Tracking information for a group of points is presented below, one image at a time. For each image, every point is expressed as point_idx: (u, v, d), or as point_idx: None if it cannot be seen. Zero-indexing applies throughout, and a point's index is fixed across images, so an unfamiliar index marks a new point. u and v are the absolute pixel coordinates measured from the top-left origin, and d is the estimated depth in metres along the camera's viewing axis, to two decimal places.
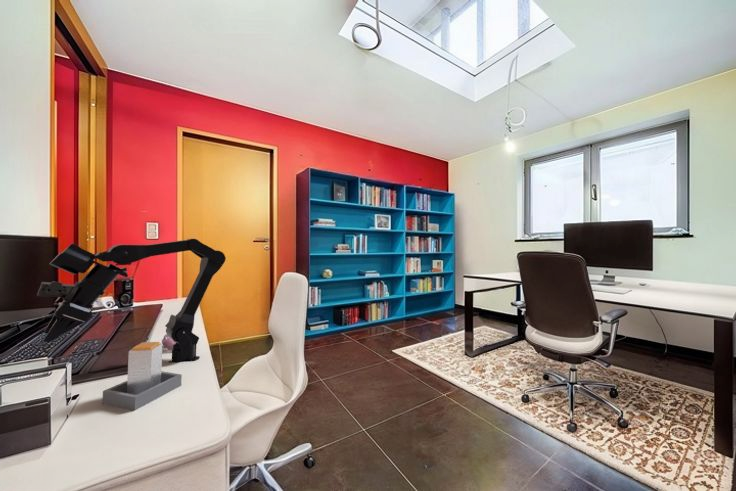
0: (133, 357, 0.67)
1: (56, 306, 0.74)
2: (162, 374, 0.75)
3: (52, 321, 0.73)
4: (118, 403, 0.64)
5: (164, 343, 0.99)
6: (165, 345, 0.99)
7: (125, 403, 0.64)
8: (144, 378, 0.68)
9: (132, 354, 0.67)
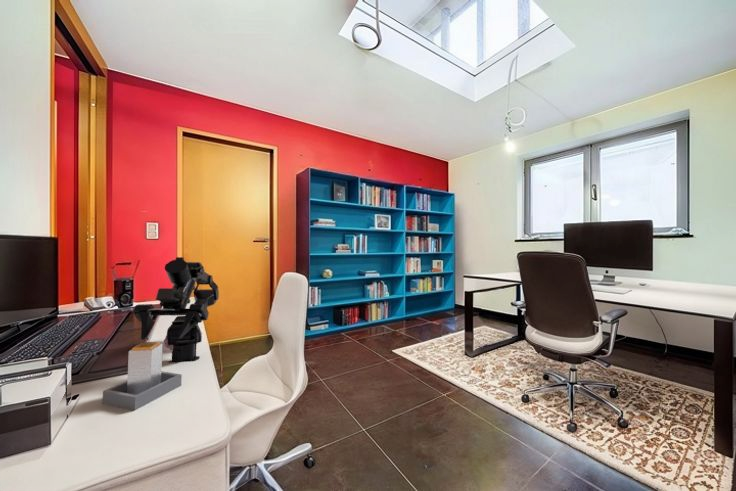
0: (133, 357, 0.67)
1: (147, 314, 0.79)
2: (162, 374, 0.75)
3: (146, 328, 0.78)
4: (118, 403, 0.64)
5: (166, 343, 0.99)
6: (167, 345, 0.99)
7: (125, 403, 0.64)
8: (144, 378, 0.68)
9: (132, 354, 0.67)
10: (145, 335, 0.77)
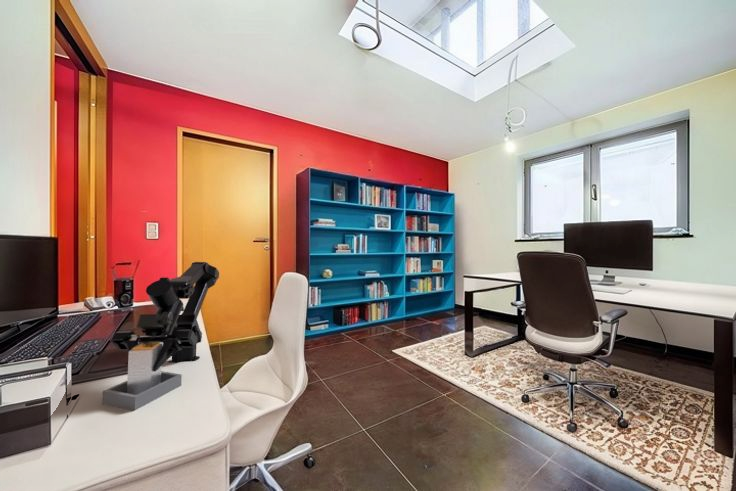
0: (133, 357, 0.67)
1: (136, 342, 0.71)
2: (162, 374, 0.75)
3: None
4: (118, 403, 0.64)
5: None
6: None
7: (125, 403, 0.64)
8: (144, 378, 0.68)
9: (132, 354, 0.67)
10: None
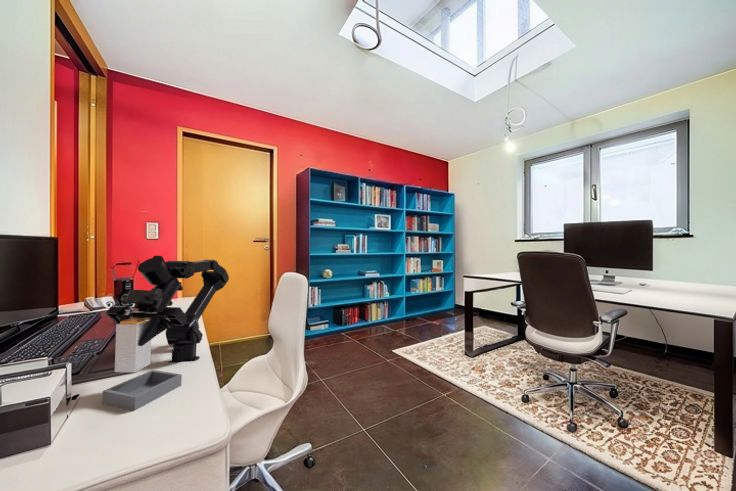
0: (120, 330, 0.69)
1: (127, 317, 0.73)
2: (162, 374, 0.75)
3: None
4: (118, 403, 0.64)
5: None
6: (171, 344, 1.00)
7: (125, 403, 0.64)
8: (130, 351, 0.69)
9: (119, 327, 0.69)
10: None
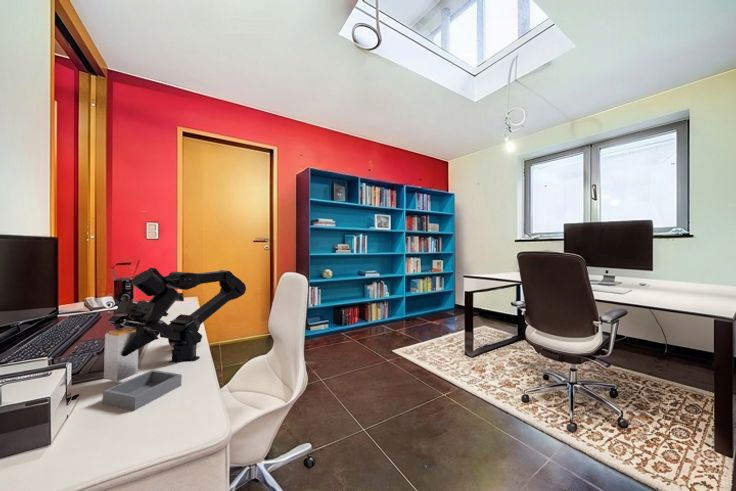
0: (107, 340, 0.72)
1: (121, 326, 0.77)
2: (162, 374, 0.75)
3: None
4: (118, 403, 0.64)
5: None
6: (172, 344, 1.00)
7: (125, 403, 0.64)
8: (114, 361, 0.72)
9: (107, 337, 0.73)
10: None
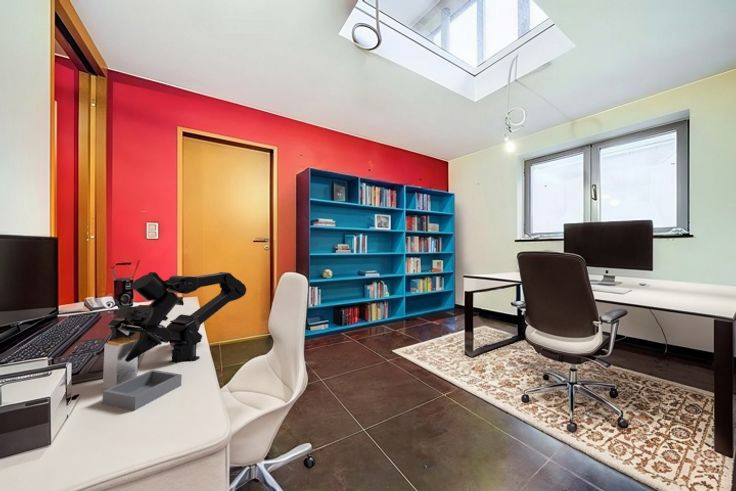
0: (107, 350, 0.72)
1: (117, 330, 0.77)
2: (162, 374, 0.75)
3: None
4: (118, 403, 0.64)
5: None
6: (172, 344, 1.00)
7: (125, 403, 0.64)
8: (113, 371, 0.72)
9: (106, 347, 0.72)
10: None
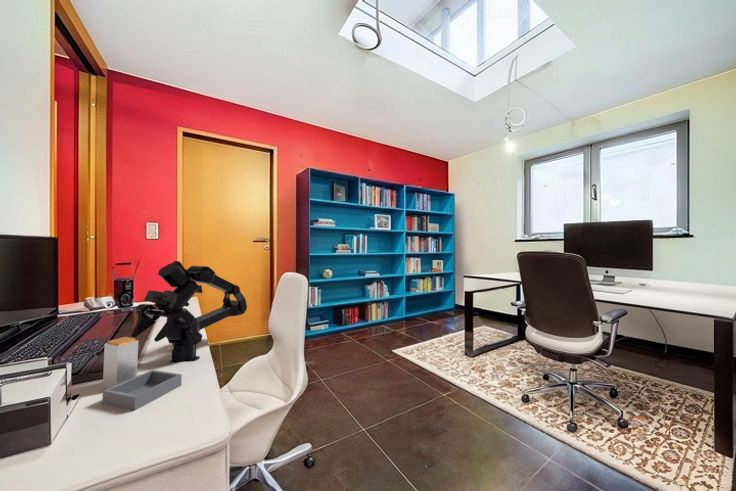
0: (107, 350, 0.72)
1: (143, 313, 0.84)
2: (162, 374, 0.75)
3: (138, 326, 0.83)
4: (118, 403, 0.64)
5: None
6: None
7: (125, 403, 0.64)
8: (113, 371, 0.72)
9: (106, 347, 0.72)
10: (136, 333, 0.82)
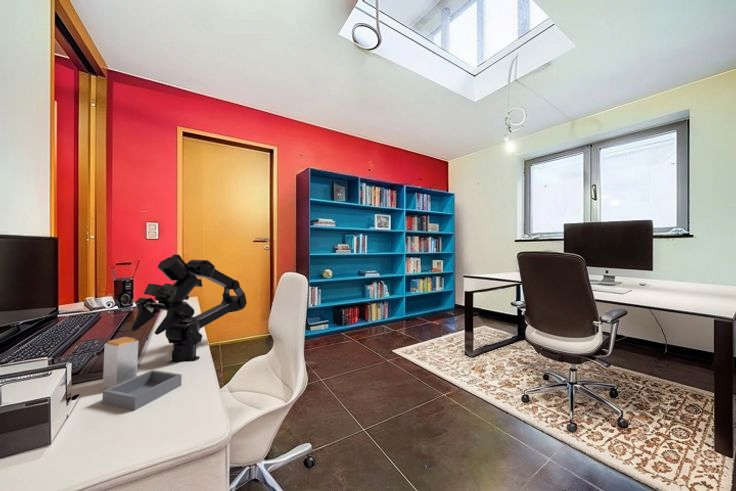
0: (107, 350, 0.72)
1: (143, 307, 0.84)
2: (162, 374, 0.75)
3: (138, 320, 0.83)
4: (118, 403, 0.64)
5: None
6: None
7: (125, 403, 0.64)
8: (113, 371, 0.72)
9: (106, 347, 0.72)
10: (137, 327, 0.82)
